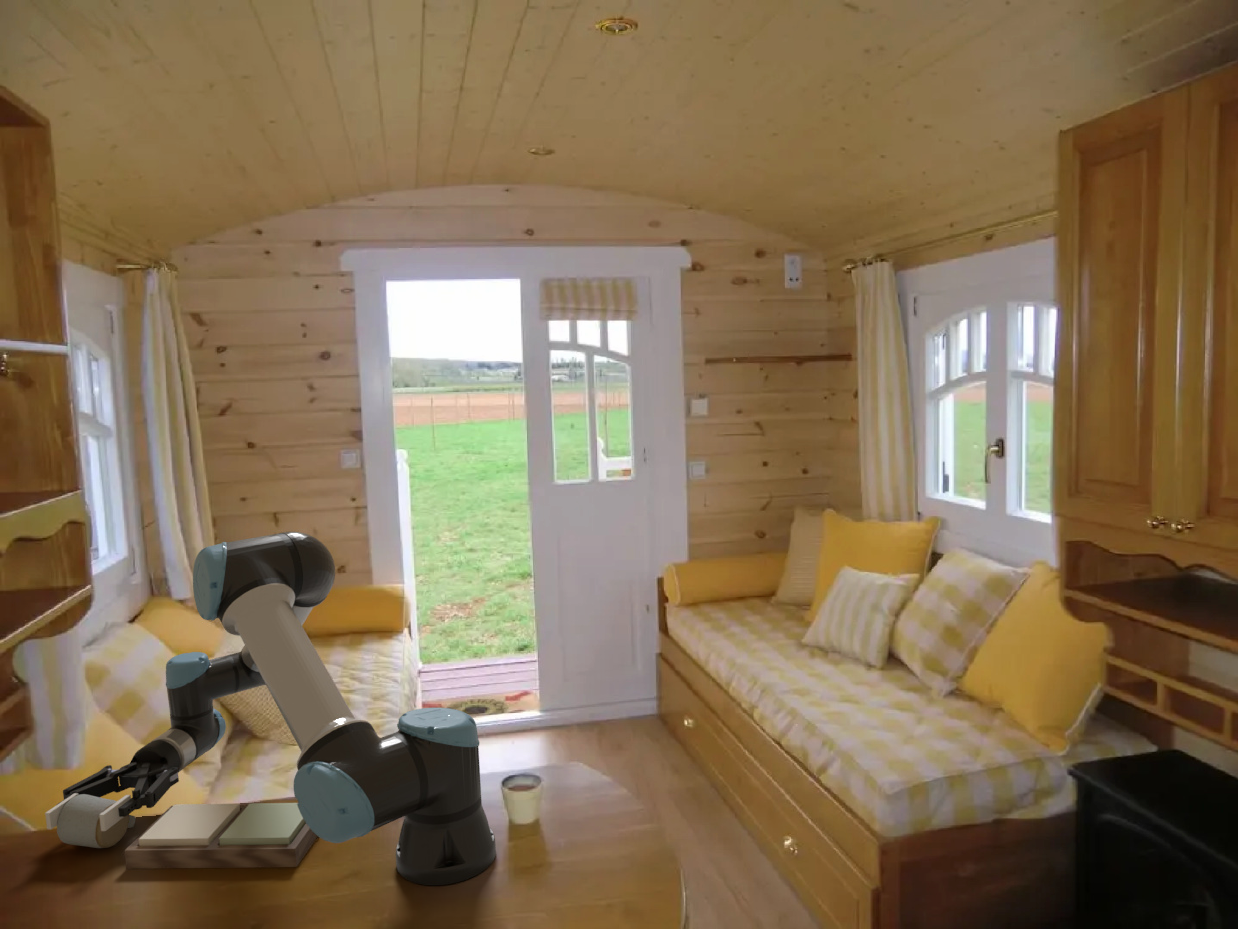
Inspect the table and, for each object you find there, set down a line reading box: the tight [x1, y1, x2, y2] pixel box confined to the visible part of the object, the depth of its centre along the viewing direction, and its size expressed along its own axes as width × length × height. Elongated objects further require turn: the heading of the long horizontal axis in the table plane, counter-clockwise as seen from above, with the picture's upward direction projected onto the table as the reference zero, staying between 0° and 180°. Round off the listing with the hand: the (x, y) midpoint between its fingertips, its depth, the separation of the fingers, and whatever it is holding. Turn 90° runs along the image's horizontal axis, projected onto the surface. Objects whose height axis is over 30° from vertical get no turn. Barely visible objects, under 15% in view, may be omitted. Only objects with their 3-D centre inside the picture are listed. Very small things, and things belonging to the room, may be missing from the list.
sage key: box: [219, 802, 306, 845], centre depth 151 cm, size 11×11×3 cm
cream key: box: [139, 803, 241, 846], centre depth 151 cm, size 11×11×3 cm
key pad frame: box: [124, 804, 318, 870], centre depth 151 cm, size 27×14×3 cm, turn 87°
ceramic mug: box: [56, 794, 137, 849], centre depth 153 cm, size 11×8×8 cm
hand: (75, 822), depth 147 cm, fingers closed on ceramic mug, 9 cm apart
